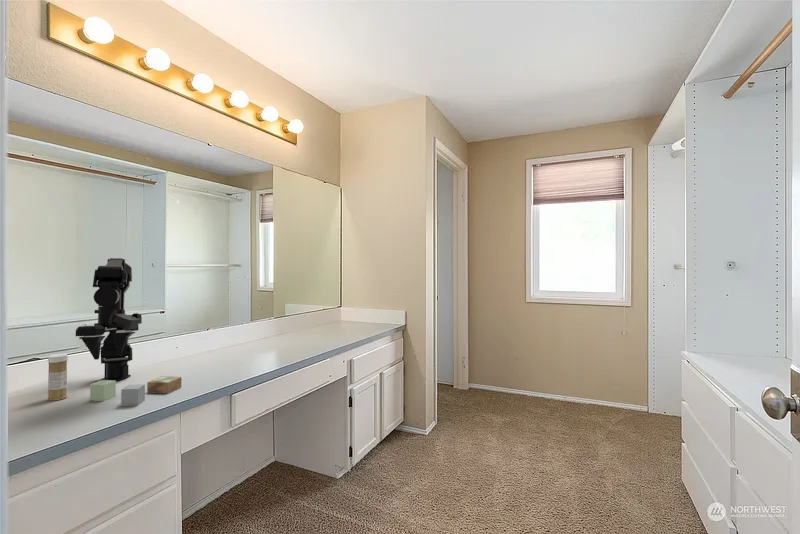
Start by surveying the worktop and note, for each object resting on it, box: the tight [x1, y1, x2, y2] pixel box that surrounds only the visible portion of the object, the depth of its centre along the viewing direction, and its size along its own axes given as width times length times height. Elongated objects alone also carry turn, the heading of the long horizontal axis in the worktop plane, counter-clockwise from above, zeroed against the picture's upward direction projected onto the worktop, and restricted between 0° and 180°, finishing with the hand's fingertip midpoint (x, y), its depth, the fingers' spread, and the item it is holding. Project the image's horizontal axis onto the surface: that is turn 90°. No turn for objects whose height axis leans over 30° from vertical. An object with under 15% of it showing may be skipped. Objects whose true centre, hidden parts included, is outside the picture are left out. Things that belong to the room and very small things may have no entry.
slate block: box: [120, 383, 146, 407], centre depth 121 cm, size 4×4×5 cm
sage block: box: [89, 379, 117, 402], centre depth 125 cm, size 4×4×5 cm
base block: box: [146, 375, 182, 394], centre depth 134 cm, size 7×7×4 cm
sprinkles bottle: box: [47, 353, 68, 401], centre depth 123 cm, size 5×5×13 cm
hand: (108, 357), depth 125 cm, fingers open, 9 cm apart
